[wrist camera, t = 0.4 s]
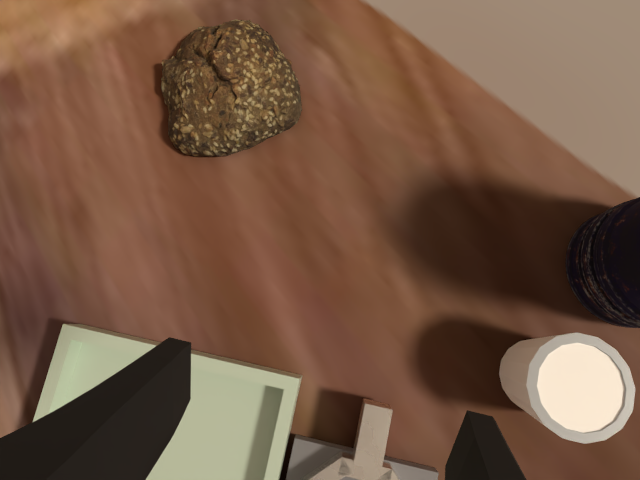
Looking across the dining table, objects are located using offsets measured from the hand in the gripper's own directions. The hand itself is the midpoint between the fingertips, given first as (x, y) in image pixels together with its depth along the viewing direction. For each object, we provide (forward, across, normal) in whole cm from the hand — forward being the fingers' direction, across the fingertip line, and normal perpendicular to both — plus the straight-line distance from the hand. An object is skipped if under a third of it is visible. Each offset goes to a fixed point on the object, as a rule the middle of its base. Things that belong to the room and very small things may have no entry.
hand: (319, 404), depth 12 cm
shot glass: (+22, -15, +14) cm, 31 cm away
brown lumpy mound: (+33, +15, -1) cm, 36 cm away
